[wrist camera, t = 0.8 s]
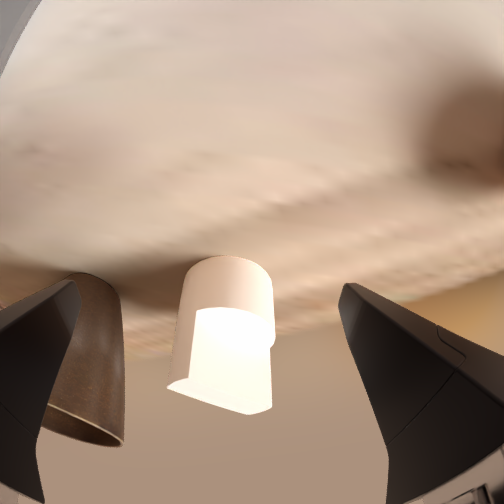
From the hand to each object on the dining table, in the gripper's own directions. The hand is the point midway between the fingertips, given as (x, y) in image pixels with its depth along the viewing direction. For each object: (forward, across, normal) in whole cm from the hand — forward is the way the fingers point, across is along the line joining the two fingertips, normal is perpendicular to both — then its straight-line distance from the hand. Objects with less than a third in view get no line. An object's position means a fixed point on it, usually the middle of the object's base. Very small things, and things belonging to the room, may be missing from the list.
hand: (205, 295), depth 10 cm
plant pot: (+18, -15, -17) cm, 29 cm away
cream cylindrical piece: (+17, +1, -14) cm, 22 cm away
